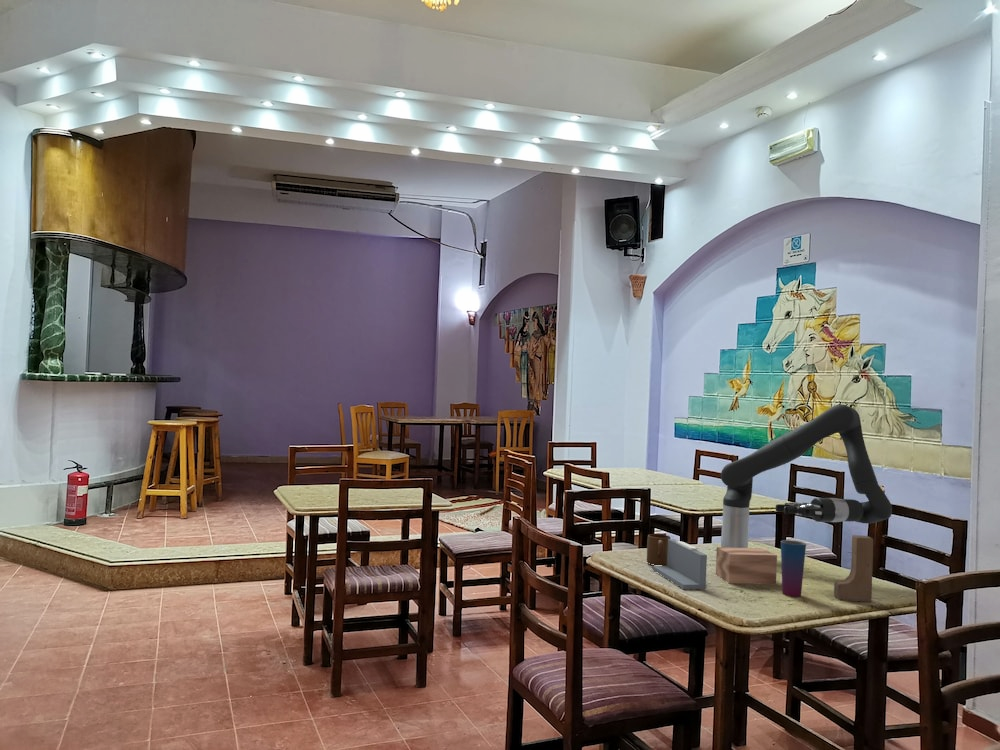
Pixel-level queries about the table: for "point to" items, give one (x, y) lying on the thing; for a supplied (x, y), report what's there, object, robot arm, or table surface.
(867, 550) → the wooden block
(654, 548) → the mug
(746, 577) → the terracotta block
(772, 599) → the table surface
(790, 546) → the cup
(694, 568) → the rail
